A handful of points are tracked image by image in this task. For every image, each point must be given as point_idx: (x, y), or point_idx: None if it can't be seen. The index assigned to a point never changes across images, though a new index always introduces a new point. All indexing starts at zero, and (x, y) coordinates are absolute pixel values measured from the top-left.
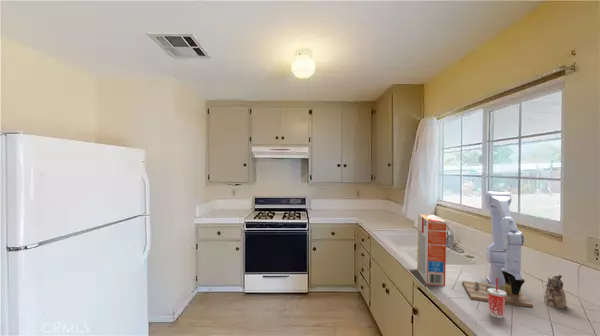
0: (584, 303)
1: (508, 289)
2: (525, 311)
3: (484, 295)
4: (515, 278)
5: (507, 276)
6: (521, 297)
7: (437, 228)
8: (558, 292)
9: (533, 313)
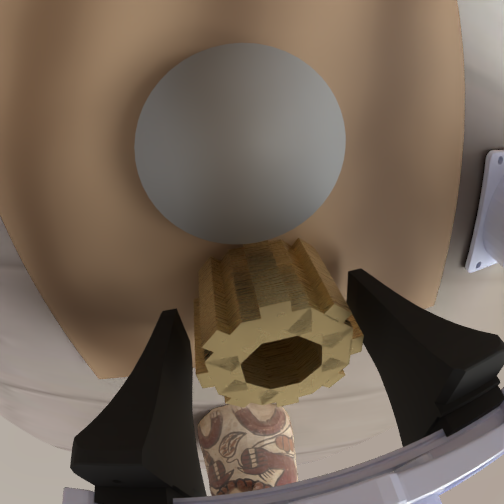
0: (310, 455)
1: (206, 302)
2: (4, 323)
3: (21, 50)
4: (69, 497)
5: (412, 367)
6: None
7: None
8: (212, 495)
9: (14, 350)
